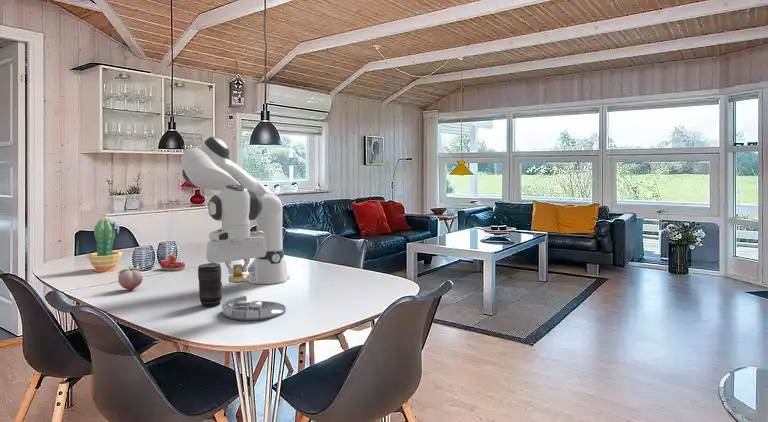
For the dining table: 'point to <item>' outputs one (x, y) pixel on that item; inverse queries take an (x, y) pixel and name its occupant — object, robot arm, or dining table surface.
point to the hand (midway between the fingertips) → (237, 272)
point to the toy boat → (172, 264)
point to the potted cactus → (105, 247)
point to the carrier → (251, 309)
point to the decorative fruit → (130, 278)
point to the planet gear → (237, 275)
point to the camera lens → (210, 284)
